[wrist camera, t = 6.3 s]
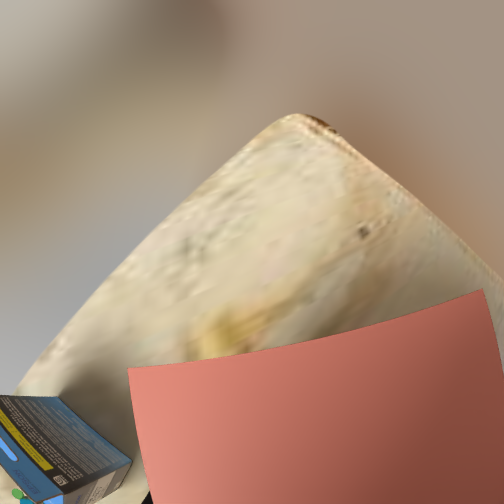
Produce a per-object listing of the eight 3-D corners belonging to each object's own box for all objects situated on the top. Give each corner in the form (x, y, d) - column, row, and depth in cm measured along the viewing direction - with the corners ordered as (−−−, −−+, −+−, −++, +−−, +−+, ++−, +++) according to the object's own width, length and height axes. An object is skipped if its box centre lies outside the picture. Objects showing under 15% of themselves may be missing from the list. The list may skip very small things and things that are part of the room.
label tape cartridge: (43, 425, 19) (-62, 426, 8) (57, 394, 21) (-53, 383, 9) (117, 490, 17) (23, 540, 6) (135, 460, 19) (36, 504, 7)
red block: (347, 446, 13) (502, 548, 2) (252, 467, 13) (208, 636, 1) (330, 358, 15) (482, 288, 4) (234, 378, 15) (126, 368, 3)
